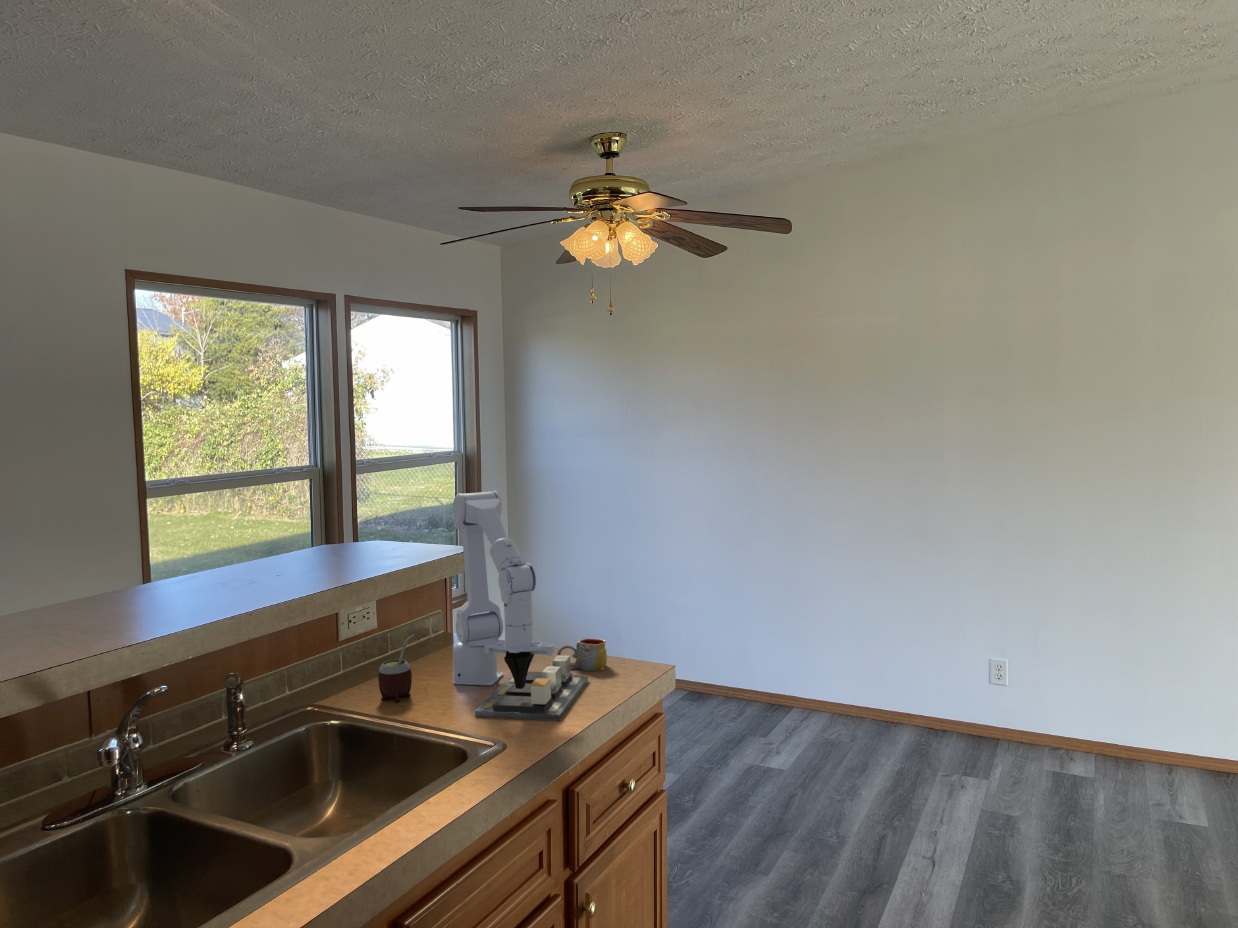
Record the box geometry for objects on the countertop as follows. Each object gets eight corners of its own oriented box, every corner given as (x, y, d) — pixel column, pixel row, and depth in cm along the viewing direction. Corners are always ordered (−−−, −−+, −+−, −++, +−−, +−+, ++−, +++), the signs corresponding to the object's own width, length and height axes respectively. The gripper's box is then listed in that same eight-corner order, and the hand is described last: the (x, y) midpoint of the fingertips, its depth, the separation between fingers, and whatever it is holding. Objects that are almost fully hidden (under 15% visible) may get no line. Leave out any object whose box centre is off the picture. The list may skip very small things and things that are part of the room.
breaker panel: (474, 716, 170) (473, 685, 169) (513, 678, 193) (512, 651, 193) (559, 720, 166) (558, 689, 166) (588, 681, 190) (587, 653, 189)
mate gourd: (378, 695, 184) (375, 629, 183) (414, 690, 187) (411, 625, 186) (380, 706, 177) (377, 637, 176) (418, 701, 180) (415, 633, 179)
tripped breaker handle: (531, 703, 169) (530, 684, 169) (537, 696, 173) (536, 678, 173) (545, 704, 169) (544, 685, 168) (551, 697, 172) (550, 678, 172)
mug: (607, 663, 203) (606, 636, 203) (607, 671, 197) (606, 643, 196) (558, 664, 203) (557, 638, 203) (557, 673, 196) (556, 645, 196)
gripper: (478, 627, 169) (480, 691, 170) (546, 629, 166) (548, 695, 167) (490, 618, 176) (492, 680, 177) (556, 620, 173) (558, 683, 174)
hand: (520, 687), depth 173 cm, fingers closed
